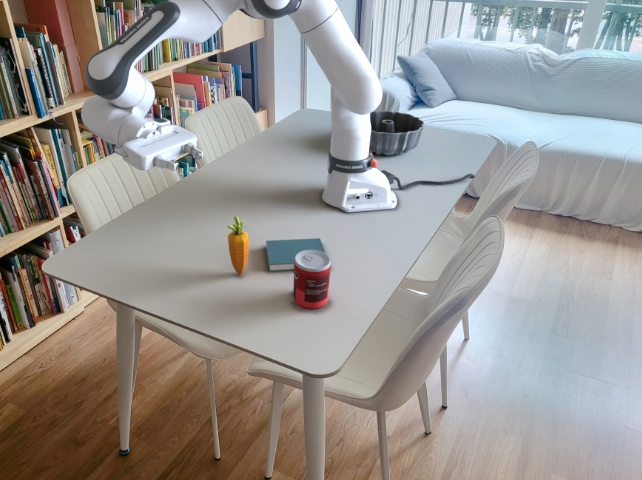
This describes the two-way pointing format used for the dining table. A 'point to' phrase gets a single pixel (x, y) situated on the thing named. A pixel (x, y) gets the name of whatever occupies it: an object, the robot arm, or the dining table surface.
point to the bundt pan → (394, 132)
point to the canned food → (311, 279)
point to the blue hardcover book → (288, 252)
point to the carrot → (238, 246)
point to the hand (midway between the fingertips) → (189, 161)
